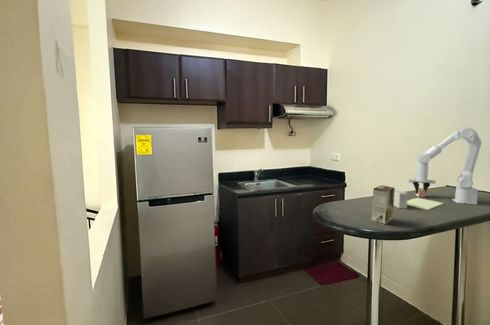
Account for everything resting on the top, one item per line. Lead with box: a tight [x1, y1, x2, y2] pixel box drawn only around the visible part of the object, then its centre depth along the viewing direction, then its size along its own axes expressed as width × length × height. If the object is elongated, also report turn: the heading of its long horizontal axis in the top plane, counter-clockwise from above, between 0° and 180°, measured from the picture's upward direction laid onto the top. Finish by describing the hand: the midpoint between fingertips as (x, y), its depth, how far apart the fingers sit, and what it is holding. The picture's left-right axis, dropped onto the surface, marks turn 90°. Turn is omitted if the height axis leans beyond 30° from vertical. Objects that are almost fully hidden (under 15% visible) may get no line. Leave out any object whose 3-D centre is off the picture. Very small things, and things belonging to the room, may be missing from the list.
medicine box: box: [393, 189, 409, 210], centre depth 143 cm, size 8×4×9 cm, turn 179°
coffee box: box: [371, 185, 396, 225], centre depth 120 cm, size 9×6×16 cm
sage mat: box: [407, 197, 444, 211], centre depth 148 cm, size 20×14×1 cm
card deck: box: [415, 187, 426, 199], centre depth 163 cm, size 3×6×4 cm, turn 161°
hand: (420, 193), depth 164 cm, fingers closed on card deck, 3 cm apart
